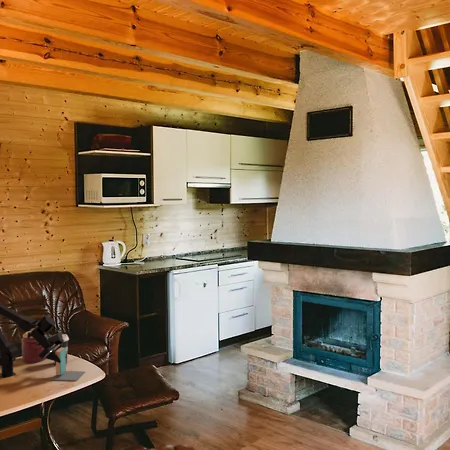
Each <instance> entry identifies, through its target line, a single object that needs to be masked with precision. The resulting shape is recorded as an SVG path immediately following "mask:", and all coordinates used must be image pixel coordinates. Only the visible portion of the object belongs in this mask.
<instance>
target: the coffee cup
mask: <svg viewBox="0 0 450 450" xmlns="http://www.w3.org/2000/svg"><path fill="white" fill-rule="evenodd" d="M62 337H63V338H62V339H63V340H64V341H63V342H62V343H63V345H62V348H65V352H66V356H67V357H66V364H67V363H68V351H69V350H68V349H69V348H68V347H69V346H68V345H69V340H70V338H69V336H68V334H66V333H65V334H64V333H63V334H62ZM62 343H61V344H62ZM55 354H56V353H55ZM54 365H56V362H55V361H54Z"/></svg>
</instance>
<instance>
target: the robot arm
mask: <svg viewBox="0 0 450 450" xmlns="http://www.w3.org/2000/svg"><path fill="white" fill-rule="evenodd" d="M0 315H1V316H2V317H4V318H6V319H8V320H10V321H11V322H13V323H15V324H16V325H17V327H18V328H19V329H20V330H21V331H23V332H25V333H26V332H28V331H31V329H33V330H32V331H31V332H28V333H27V334H28V336H27V338H30V337H31V336H32V337H33V338H34V339H35V340H36V341H37V342H38V343H39V344H38V346H40V345H41V346H42V347H43V348H44V350H43V351H42V352H41V353H40V354H39V357H40V358H41V359H43V358H44V357H45V356H46V357H45V360H50V361H55V362H58V363H61V360H60V359H59V357H58V356H57V355H56V354H55V351H57V350H58V349H59V348H62V345H63V343H62V342H63V341H64V340H63V339H62V338H63V337H62V334H64V333H62V331H61V330H56V331H55V332H54V334H53V335H51V334H47V333H48V332H49V331H51V330H52V328H53V327H54V326H55V325H56V324H57V323H56V320H55V319H54V318H52V317H50V316H48V315H44V316H43V317H42V318H41V319H40V320H39V319H38V320H37V319H35V318H33V317H31V316H28V315H23V314H20V313H18V312H16V310H13V309H11V308H10V307H8V306H6V305H4V304H3V303H1V302H0ZM34 328H35V329H34ZM61 343H62V344H61ZM18 356H19V348H18V347H17V346H16V344H15V343H14V342H13V343H11V342H9V340H8V339H7V338H6V336H5V334H4V333H3V332H2V330H1V329H0V371H1V373H0V377H2V378H3V379H4V378H8V377H11V376H16V375H17V373H16V372H15V371H14V362H15V361H16V359H17V357H18ZM66 357H67V358H68V355H67V356H66Z"/></svg>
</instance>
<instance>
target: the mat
mask: <svg viewBox="0 0 450 450" xmlns="http://www.w3.org/2000/svg"><path fill="white" fill-rule="evenodd" d="M85 373H86V371H83V370H82V371H80V370H66V371H65V372H64V373H63V374H61V375H56V374H55V375H54V376H53V377H52V378H51V379H50V381H53V382H55V381H57V382H58V381H59V382H60V381H61V382H77V381H78V380H79V379H80V378H81V377H82V376H84V374H85Z"/></svg>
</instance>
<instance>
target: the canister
mask: <svg viewBox="0 0 450 450" xmlns="http://www.w3.org/2000/svg"><path fill="white" fill-rule="evenodd" d="M35 328H36V327H35ZM35 328H34V329H35ZM32 330H33V329H31V330H30V331H27V332H25V333H24V334H22V338H21V358H22V362H23V363H26V364H27V363H28V364H34V363H35V364H36V363H40V362H42V361H44V360H46V359H45V357H46V356H45V357H44V358H43V359H41V358H40V357H39V354H40V353H41V352H42V351H43V350H44V348H43V347H42V346H41V345H40V346H38V344H39V343H38V342H37V341H36V340H35V339H34V338H33V337H32V336H31V337H30V338H27V336H28V334H27V333H28V332H31V331H32Z"/></svg>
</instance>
